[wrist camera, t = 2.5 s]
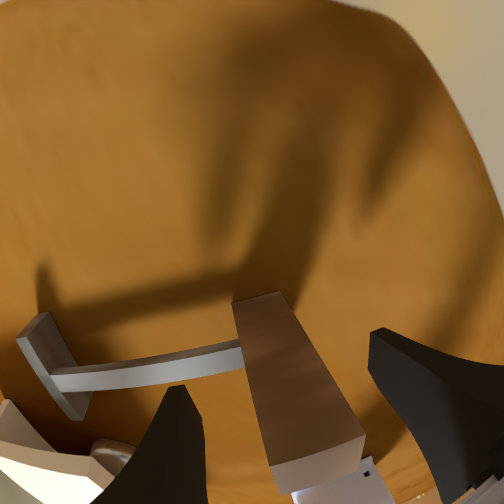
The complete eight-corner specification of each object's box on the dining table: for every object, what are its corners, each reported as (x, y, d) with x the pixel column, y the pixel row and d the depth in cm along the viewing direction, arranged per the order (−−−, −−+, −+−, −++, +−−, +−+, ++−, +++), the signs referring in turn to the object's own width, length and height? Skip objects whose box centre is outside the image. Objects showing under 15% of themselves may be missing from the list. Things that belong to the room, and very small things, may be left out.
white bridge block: (107, 400, 14) (87, 477, 8) (196, 498, 20) (200, 544, 14) (4, 398, 13) (-22, 447, 7) (105, 496, 19) (100, 535, 13)
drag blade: (274, 258, 13) (373, 392, 5) (290, 354, 15) (353, 486, 7) (37, 313, 12) (-44, 419, 4) (82, 390, 14) (46, 501, 5)
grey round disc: (131, 436, 16) (128, 456, 14) (158, 466, 18) (157, 483, 16) (81, 436, 15) (76, 453, 14) (111, 465, 17) (108, 481, 15)
